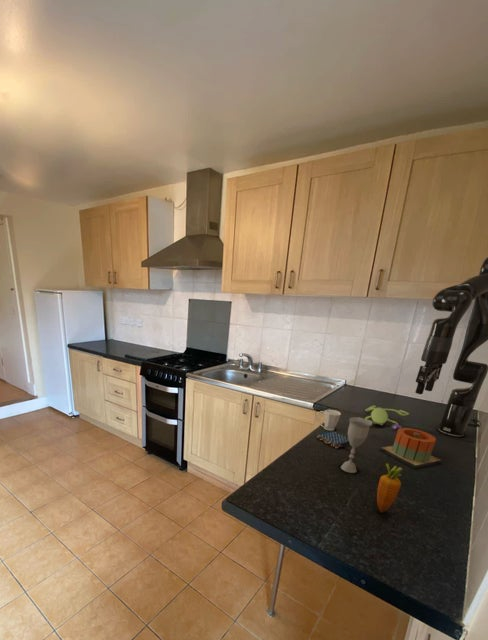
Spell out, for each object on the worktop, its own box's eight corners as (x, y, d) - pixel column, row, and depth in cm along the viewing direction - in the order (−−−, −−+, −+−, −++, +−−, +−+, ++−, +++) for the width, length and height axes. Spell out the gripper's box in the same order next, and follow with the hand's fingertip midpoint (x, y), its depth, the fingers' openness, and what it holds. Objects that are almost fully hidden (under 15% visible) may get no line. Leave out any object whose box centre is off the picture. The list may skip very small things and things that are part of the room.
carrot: (367, 506, 95) (380, 460, 90) (383, 506, 95) (397, 460, 90) (378, 518, 90) (392, 470, 85) (395, 518, 91) (410, 470, 86)
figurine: (407, 420, 164) (411, 409, 162) (399, 436, 144) (403, 424, 142) (367, 410, 175) (370, 400, 173) (354, 423, 155) (357, 412, 153)
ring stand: (404, 446, 135) (411, 424, 131) (440, 463, 123) (448, 439, 119) (380, 450, 130) (386, 427, 126) (414, 469, 117) (422, 443, 114)
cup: (333, 433, 143) (337, 416, 140) (311, 426, 149) (315, 409, 147) (339, 429, 148) (343, 412, 145) (318, 422, 154) (321, 406, 152)
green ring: (406, 444, 133) (409, 435, 132) (436, 459, 123) (440, 449, 121) (385, 448, 129) (387, 439, 127) (415, 463, 118) (418, 453, 117)
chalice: (350, 476, 110) (362, 426, 104) (333, 466, 116) (344, 419, 110) (364, 471, 114) (377, 423, 108) (347, 462, 119) (358, 416, 113)
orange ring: (409, 435, 132) (411, 426, 130) (440, 449, 121) (443, 439, 120) (387, 439, 127) (390, 429, 126) (418, 453, 117) (421, 443, 116)
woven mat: (336, 449, 129) (337, 444, 128) (315, 438, 137) (316, 433, 137) (354, 445, 133) (355, 440, 133) (332, 434, 142) (333, 430, 141)
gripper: (441, 352, 111) (427, 397, 116) (456, 349, 119) (442, 392, 124) (416, 348, 116) (404, 391, 122) (432, 346, 124) (420, 387, 130)
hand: (423, 392), depth 123 cm, fingers open, 8 cm apart
